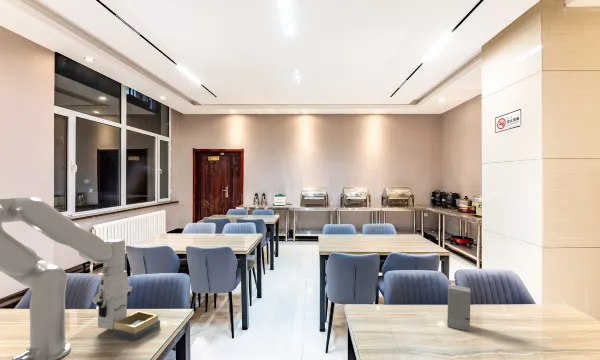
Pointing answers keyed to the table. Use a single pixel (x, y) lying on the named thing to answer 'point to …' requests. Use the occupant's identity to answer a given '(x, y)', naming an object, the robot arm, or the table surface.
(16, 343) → the table surface
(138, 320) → the gold-rimmed shallow tray
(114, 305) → the supplement box
